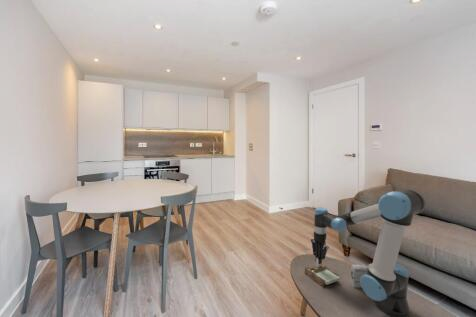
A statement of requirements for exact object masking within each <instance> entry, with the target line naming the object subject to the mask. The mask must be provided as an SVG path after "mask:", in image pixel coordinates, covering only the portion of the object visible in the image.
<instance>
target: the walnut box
mask: <svg viewBox="0 0 476 317" xmlns="http://www.w3.org/2000/svg"><path fill="white" fill-rule="evenodd" d="M323 265H324V264H322V263H321V266H323ZM314 268H316V266H313V267H310V266H307V265H306V266H304V275H306V276H308V277H309V278H310V279H311V280H313V281H315V283H317V285H320V286H321V287H322V288H325V287H327V286H329V285H332V284H335V283H337V282H338V281H339V280H338V281H335V282H333V283H330V284H328V285H327V284H326V283H324V280H323V279H322V278H321V277H319V276H318V275H317V274H315V273H314V272H312V270H314ZM326 269H327V270H329V271H330V272H332V273H334V274H335V275H337V276H338V277H339V274H338V273H337V272H335V271H333V270H332V269H330V268H328V267H327V266H326Z"/></svg>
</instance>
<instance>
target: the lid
mask: <svg viewBox="0 0 476 317" xmlns="http://www.w3.org/2000/svg"><path fill="white" fill-rule="evenodd" d="M322 265H323V266H319V267H316V266H315V267H316V268H314V270H312V272H314V273H315V274H317V275H318V276H319V277H321V278H322V279H323V280H324V283H326V284H327V286H329V285H328V284H330V283H332V284H334V283H333V282H335V281H340V280H341V279H340V277H339V275H338V276H337V275H335V274H334V273H332V272H330V271H329V270H327V269H326V267H327V265H325V264H322ZM335 283H336V282H335ZM330 285H331V284H330Z"/></svg>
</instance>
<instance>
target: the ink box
mask: <svg viewBox="0 0 476 317" xmlns="http://www.w3.org/2000/svg"><path fill="white" fill-rule="evenodd" d="M367 268H368V266H367V265H364V264H363V265H362V264H351V265H350V282H349V283H350V284H351V286H352V287H353V288H361V289H362V287H361V284H360V279H361V277H362V276H363V275H365V274H366V273H367Z"/></svg>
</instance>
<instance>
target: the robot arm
mask: <svg viewBox="0 0 476 317" xmlns="http://www.w3.org/2000/svg"><path fill="white" fill-rule="evenodd" d="M425 208H426V200H425V198H424V197H423V195H422V194H421V193H419V192H417V191H416V190H411V189H405V190H404V189H403V190H399V191H398V190H397V191H396V190H394V191H389V192H387V193H385V194H383V195H382V196H381V197H380V198H379V201H378V203H376V204H372V205H369V206H367V207H363V208H359V209H356V210H353V211H350V212H349V211H348V212H347V213H343V214H338V215H337V214H336V215H332V214H330V213H329V212H328V209H327V208H325V207H315V209H314V221H313V222H314V225H313V226H314V227H313V238H312V239H310V241H311V248H312V255H313V256H314V257H315V267H319V266H321V264H322V263H323V260H325V259H326V256H327V252H328V250H329V248H330V247H329V245H327V244H326V243H327V242H326V241H327V227H328V228H330V229H332V230H334V231H337V232H339V233H340V232H341V233H342V232H343V231H344V230H346V228H347V227H352V226H356V225H358V224H362V223H363V224H364V223H367V222H371V221H375V220H379V219H381V220H382V224H381V226H380V231H379V236H378V238H377V239H378V240H377V244H376V249H375V252H374V255H373V260H372V263H369V264H368V266H367V273H366V274H365V275H363V276H362V277H361V279H360V284H361V287H362V288H361V289H362V290H363V292H364V294H365V295H366V296H367V297H368V298H370V299H371V300H373V301H374V304H375V305H376V307H377V308H378V309H379V310H380V311H381V312H383V313H385V314H386V315H388V316H391V317H410V315H411V308H410V305H409V302H408V299H407V296H408V286H409V278H410V276H409V274H410V272H409V270H407V268H406V267H404V266H403V265H402V264H399V263H397V259H398V256H399V252H400V249H401V245H402V241H403V238H404V235H405V229H406V228H408V227H410V226H411V225H412V222H413V218H414V216H415V215H418V214H420V213H422V212H423V211H424V210H425Z"/></svg>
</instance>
